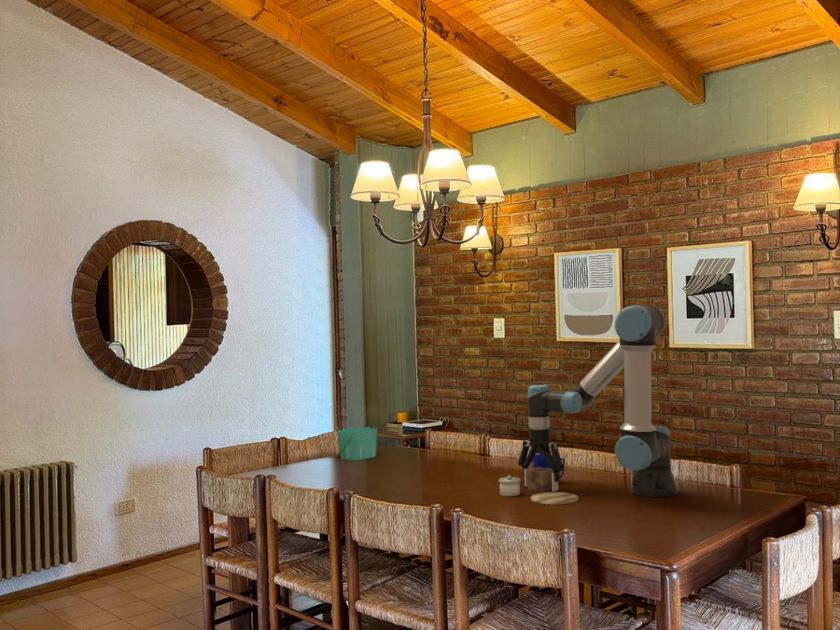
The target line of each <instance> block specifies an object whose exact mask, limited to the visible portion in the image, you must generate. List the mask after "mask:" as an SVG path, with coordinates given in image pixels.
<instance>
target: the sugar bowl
mask: <svg viewBox="0 0 840 630" xmlns="http://www.w3.org/2000/svg"><path fill="white" fill-rule="evenodd" d="M498 483H499V495H501V496H503V497H516V496H519V495H520V494H521V487H520V486H521V485H520V483H521V478H519V477H514V476H512V475H510V474H508V475H507V476H505V477H504V476H503V477H500V478H498Z"/></svg>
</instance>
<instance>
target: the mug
mask: <svg viewBox="0 0 840 630" xmlns="http://www.w3.org/2000/svg"><path fill="white" fill-rule="evenodd" d="M551 455H552V454H551ZM552 456H553V455H552ZM560 458H561V461H562V464H563V466H564V467H565V464H566V459H565V458H564V457H560ZM531 463H532V469H534V468H538V467H541V468H549V469H552V468H551V466H550V465H549V463H548V461H547V459H546V458H545V457H544V456H543V454H535V456H534V458H533V460H532V461H531ZM564 472H565V470H564V471H561V472H560V473H561V474H560V479H561V478H563V475H564Z"/></svg>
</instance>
